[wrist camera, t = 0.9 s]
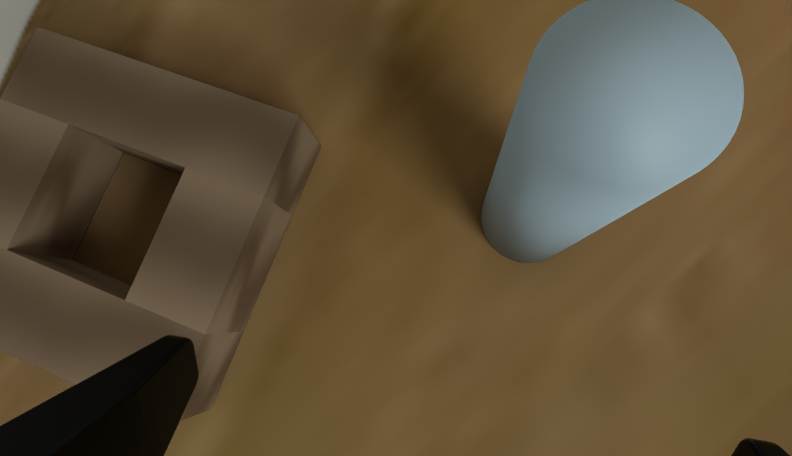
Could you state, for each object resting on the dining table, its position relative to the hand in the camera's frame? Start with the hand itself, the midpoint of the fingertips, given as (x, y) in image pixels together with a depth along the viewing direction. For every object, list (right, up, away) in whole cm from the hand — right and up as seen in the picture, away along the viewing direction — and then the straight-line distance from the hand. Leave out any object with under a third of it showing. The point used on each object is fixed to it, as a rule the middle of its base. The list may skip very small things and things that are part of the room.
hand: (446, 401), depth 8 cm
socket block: (-14, +3, +18) cm, 23 cm away
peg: (+6, +3, +16) cm, 17 cm away
